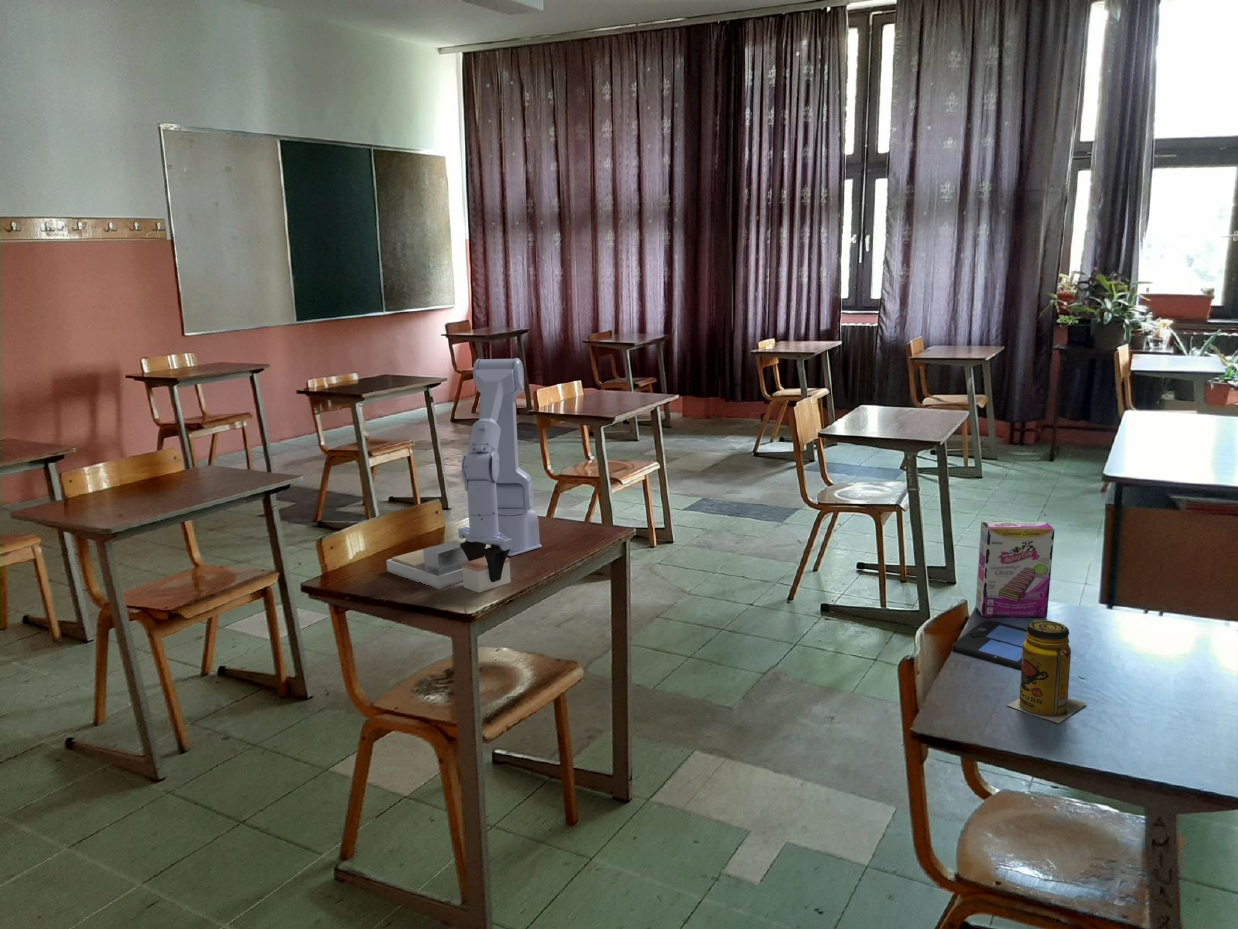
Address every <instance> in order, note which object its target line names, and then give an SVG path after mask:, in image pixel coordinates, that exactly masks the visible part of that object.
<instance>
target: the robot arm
mask: <svg viewBox="0 0 1238 929" xmlns="http://www.w3.org/2000/svg"><path fill="white" fill-rule="evenodd" d="M475 360H476V361H474V362H473V365H472V366H473V369H472V377H473V382H474V385H475V386H476V389H477V392H478V393H480V399H479V400H480V401H479V415H478V416H479V417H478V420H477V421H475V422H474V423H473V424H472V428H471V433H470V440H469V445H468V451H467V455H464V456H463V457H462V461H461V476H462V480H463V484H464V491H465V492H467V494H466V495H467V507H468V508H467V510H468V526H464V527H460V528H458V529H457V530H458V538H459V539H465V540H464V541H463V542H462V543H461V544H460V547H461V548H462V550H463V551H464V553H465V555H466V557H467V559H468V561H472V560H475V559H479V558H482V557H485V558H486V561H487V564H488V570H489V577H490V580H491V582H496V581H499V580H501V575H502V570H503V566H504V562H505V560H506V558H508V557H513V556H517V555H519V554H523V553H526V552H530V551H533V550H535V549H540V548H542V547H543V545H542V544H541V543H540V528H539V517H538V514H537V513H536V511H535V510H534V509H532V508H533V506H534V499H535V498H534V495H535V494H534V493H535V492H534V487H533V481H532V478H531V477H532V476H531V475H530V474H529V473H528V472H526V471H525V470H523V469H522V468H520V467H519V447H518V425H517V397H518V396H519V395H521V394H524V391H525V390H524V389H525V378H524V377H525V375H524V365H523V362H522V361H521V359H520V358H519V357H515V358H493V359H492V358H489V359H487V358H486V359H484V358H482V359H481V358H477V359H475ZM487 546H490V547H487Z"/></svg>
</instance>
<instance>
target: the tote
mask: <svg viewBox="0 0 1238 929" xmlns="http://www.w3.org/2000/svg"><path fill="white" fill-rule="evenodd" d="M433 546H434V545H433ZM433 546H431V547H433ZM426 548H427V547H426ZM426 548H422V549H417V550H415V551H410V552H407V553H404V554H403V553H402V554H400V555H397V556H393V557H391V558H388V559H387V560H385V561H386V570H387V573H391V574H394V575H396V576H400V577H403V578H405V579H407V578H408V580H411V581H413V582H417V583H419V582H421V583H423V584H422V585H424V584H426V585H425V586H427V585H430V586H432V587H431V588H433V587H434V588H433V589H436V590H440V589H445V588H447V586H448V587H450V586H449V585H451V586H453V585H456V583H457V584H459V582H460V583H463V569H460V570H457V571H453V572H450V573H447V574H443V575H440V576H436V575H433V574H430V573H427V572H425V567H424V553H423V549H426ZM421 583H420V584H421ZM430 586H429V587H430Z"/></svg>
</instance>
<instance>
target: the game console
mask: <svg viewBox="0 0 1238 929" xmlns="http://www.w3.org/2000/svg"><path fill="white" fill-rule="evenodd" d="M1026 634H1027V628H1023V627H1019V626H1016V625H1011V624H1007V623H1005V622H1001V621H995V620H994V621H993V620H988V621H987V620H986V621H982V622H979V623H978V624H977V625H975V627H973V628H972V629H971V630H969V631H968V632H966V633H965V634H964V635H963V636H962V637H960V638H958V639H957V640H956V641H955V642H954V643H953V644H952V645H951V649H952V651H953V652H956V653H959V654H963V655H967V656H969V657H973V658H977V659H980V660H983V661H984V660H985V661H988V662H991V663H995V664H998V665H1001V666H1005V667H1008V668H1013V669H1015V670H1019V671H1021V668H1022V653H1023V650H1022V649H1023V643H1024V641H1026Z"/></svg>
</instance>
